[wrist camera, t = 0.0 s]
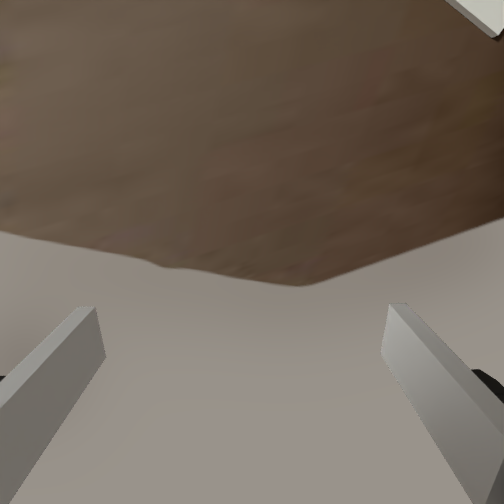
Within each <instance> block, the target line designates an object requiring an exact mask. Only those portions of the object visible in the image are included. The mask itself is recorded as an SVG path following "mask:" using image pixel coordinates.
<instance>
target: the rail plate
mask: <svg viewBox="0 0 504 504" xmlns="http://www.w3.org/2000/svg"><path fill="white" fill-rule="evenodd" d="M445 1H446V2H447V3H449V4H450V5H451V6H452V7H454V8H455V9H456V10H457V11H459V12H460V13H461V14H462V15H464V16H465V17H466V18H467V19H469V20H470V21H471V22H472V23H473V24H475V25H476V26H477V27H478V28H480V29H481V30H482V31H483V32H485V33H486V34H487V35H488V36H490V37H491V38H493V37H495V36H498V35H499V34H500V32H501V31H502V29H503V28H504V0H445Z"/></svg>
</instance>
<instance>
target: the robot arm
mask: <svg viewBox="0 0 504 504" xmlns="http://www.w3.org/2000/svg"><path fill="white" fill-rule="evenodd" d="M381 356H382V357H383V359H384V360H385V362H386V363H387V365H388V367H389V369H390V370H391V371H392V373H393V375H394V377H395V378H396V380H397V382H398V383H399V385H400V386H401V388H402V390H403V391H404V393H405V395H406V396H407V398H408V399H409V401H410V403H411V404H412V406H413V408H414V409H415V411H416V412H417V414H418V416H419V417H420V419H421V420H422V422H423V424H424V425H425V427H426V429H427V430H428V432H429V433H430V435H431V437H432V438H433V440H434V442H435V443H436V445H437V446H438V448H439V449H440V451H441V453H442V454H443V456H444V458H445V459H446V461H447V462H448V464H449V466H450V467H451V469H452V471H453V472H454V474H455V476H456V477H457V479H458V480H459V482H460V484H461V485H462V487H463V488H464V490H465V492H466V493H467V495H468V497H469V498H470V500H471V501H472V503H473V504H504V387H503V386H502V385H501V384H500V383H499V382H498V381H497V380H496V379H494V378H492V377H491V376H489V375H488V374H486V373H484V372H483V371H481V370H479V369H474V370H470V369H469V368H468V367H467V366H466V365H465V364H464V362H463V361H461V359H460V358H459V357H458V356H457V355H456V354H455V353H454V352H453V351H452V350H451V349H450V348H449V347H448V346H447V345H446V344H445V343H444V342H443V341H442V340H441V339H440V338H439V337H438V336H437V335H436V334H435V333H434V331H432V329H431V328H430V327H428V325H427V324H426V323H425V322H424V321H423V320H422V319H421V318H420V317H419V316H418V315H417V314H416V313H415V312H414V311H413V310H412V309H411V308H410V307H409V306H408V305H407V304H403V303H399V304H389V308H388V314H387V320H386V326H385V332H384V337H383V343H382V349H381ZM105 358H106V355H105V350H104V345H103V341H102V336H101V331H100V327H99V322H98V318H97V313H96V308H95V307H77V308H76V309H75V310H74V311H73V312H72V313H71V314H70V315H69V316H68V317H67V318H66V319H65V320H64V321H63V322H62V323H61V324H60V325H59V326H58V327H57V328H56V329H55V330H54V331H52V332H51V333H50V334H49V335H48V336H47V337H46V338H45V339H44V340H43V341H42V342H41V343H40V344H39V345H38V346H37V347H36V348H35V349H34V350H33V351H32V352H31V353H30V354H29V355H28V356H27V357H26V358H25V359H23V360H22V361H21V362H20V363H19V364H18V365H17V366H16V367H15V368H14V369H13V370H12V371H11V372H10V373H9V374H8V375H7V376H0V504H9V503H10V501H11V500H12V498H13V497H14V495H15V494H16V492H17V491H18V489H19V488H20V486H21V485H22V483H23V481H24V480H25V479H26V477H27V476H28V474H29V473H30V471H31V469H32V468H33V467H34V465H35V464H36V462H37V461H38V459H39V458H40V456H41V455H42V453H43V451H44V450H45V449H46V447H47V446H48V444H49V443H50V441H51V439H52V438H53V436H54V435H55V433H56V432H57V430H58V429H59V427H60V426H61V424H62V423H63V421H64V420H65V418H66V417H67V415H68V414H69V412H70V411H71V409H72V408H73V406H74V405H75V403H76V402H77V400H78V399H79V397H80V396H81V394H82V393H83V391H84V390H85V388H86V387H87V385H88V384H89V382H90V380H91V379H92V377H93V376H94V374H95V373H96V371H97V370H98V368H99V367H100V365H101V364H102V363H103V361H104V359H105Z"/></svg>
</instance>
